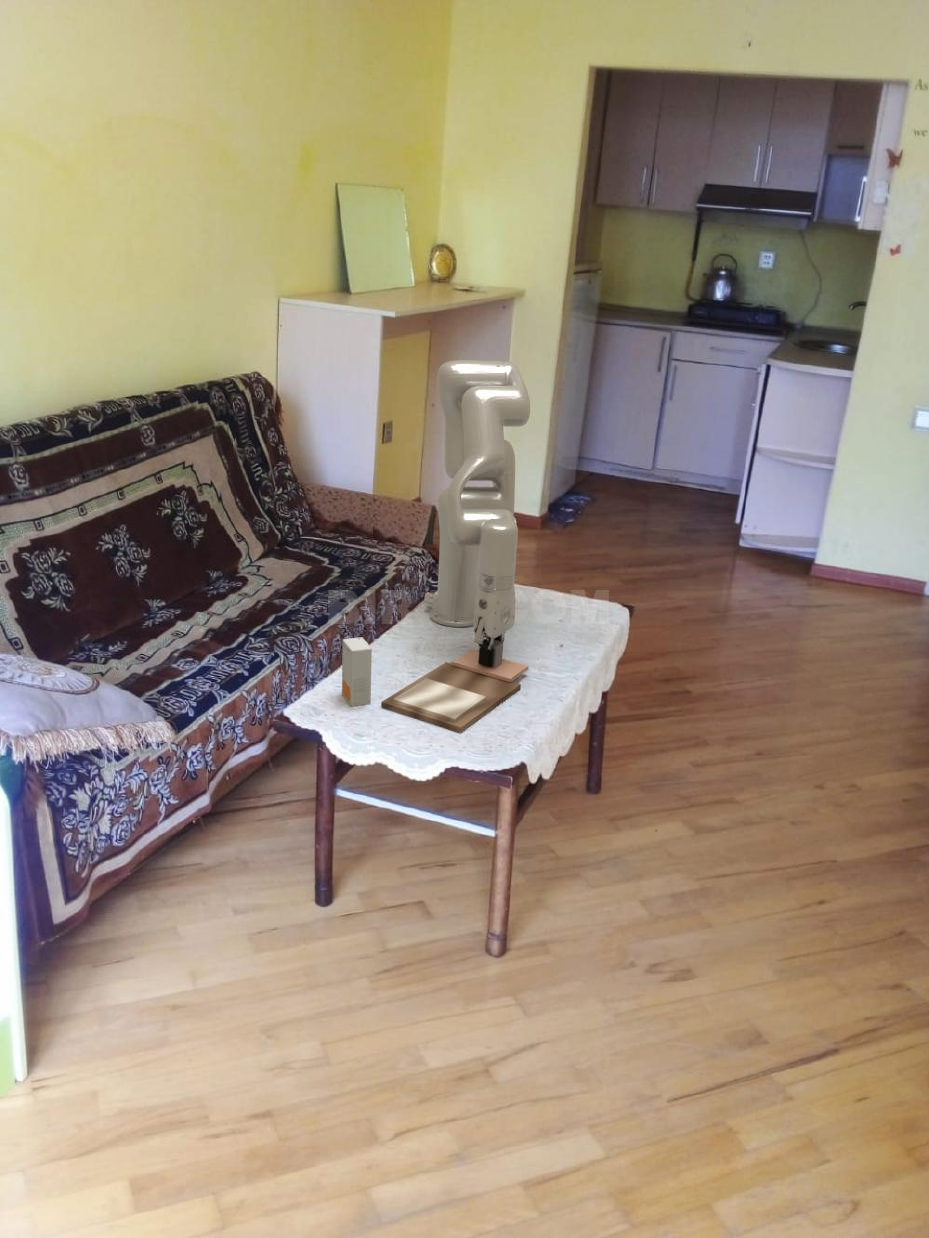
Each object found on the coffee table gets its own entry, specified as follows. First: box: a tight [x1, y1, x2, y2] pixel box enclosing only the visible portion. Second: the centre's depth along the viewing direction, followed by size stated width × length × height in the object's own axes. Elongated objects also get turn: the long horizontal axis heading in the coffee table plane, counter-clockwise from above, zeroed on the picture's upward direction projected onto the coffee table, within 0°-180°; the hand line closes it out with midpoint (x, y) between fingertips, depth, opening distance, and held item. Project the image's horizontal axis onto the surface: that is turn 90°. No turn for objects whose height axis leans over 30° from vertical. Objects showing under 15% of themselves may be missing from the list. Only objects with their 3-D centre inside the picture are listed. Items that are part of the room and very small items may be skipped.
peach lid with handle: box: [451, 637, 529, 682], centre depth 231 cm, size 14×8×6 cm, turn 59°
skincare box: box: [341, 636, 373, 707], centre depth 215 cm, size 6×4×12 cm
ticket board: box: [380, 661, 522, 734], centre depth 220 cm, size 18×24×2 cm
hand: (490, 661), depth 231 cm, fingers closed on peach lid with handle, 3 cm apart
